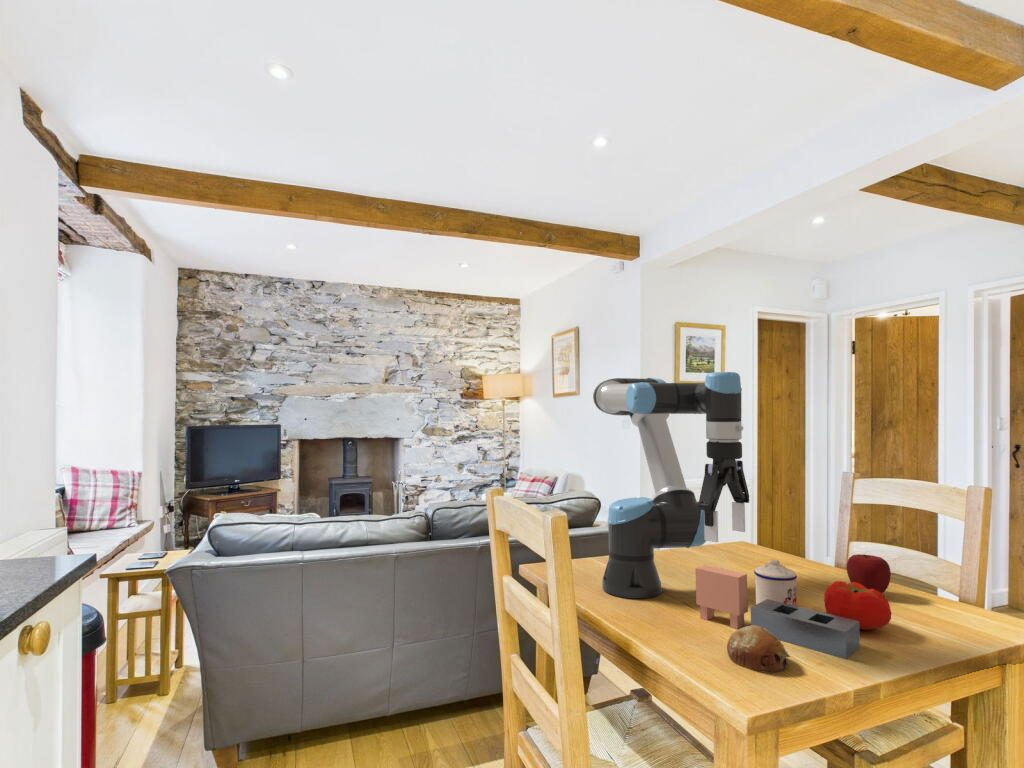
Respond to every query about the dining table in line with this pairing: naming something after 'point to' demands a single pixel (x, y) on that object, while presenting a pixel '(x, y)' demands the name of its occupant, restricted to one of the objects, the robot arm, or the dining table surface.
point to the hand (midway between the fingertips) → (725, 536)
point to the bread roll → (757, 649)
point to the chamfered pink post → (722, 593)
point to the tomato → (857, 604)
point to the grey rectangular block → (808, 627)
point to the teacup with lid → (775, 583)
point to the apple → (869, 571)
